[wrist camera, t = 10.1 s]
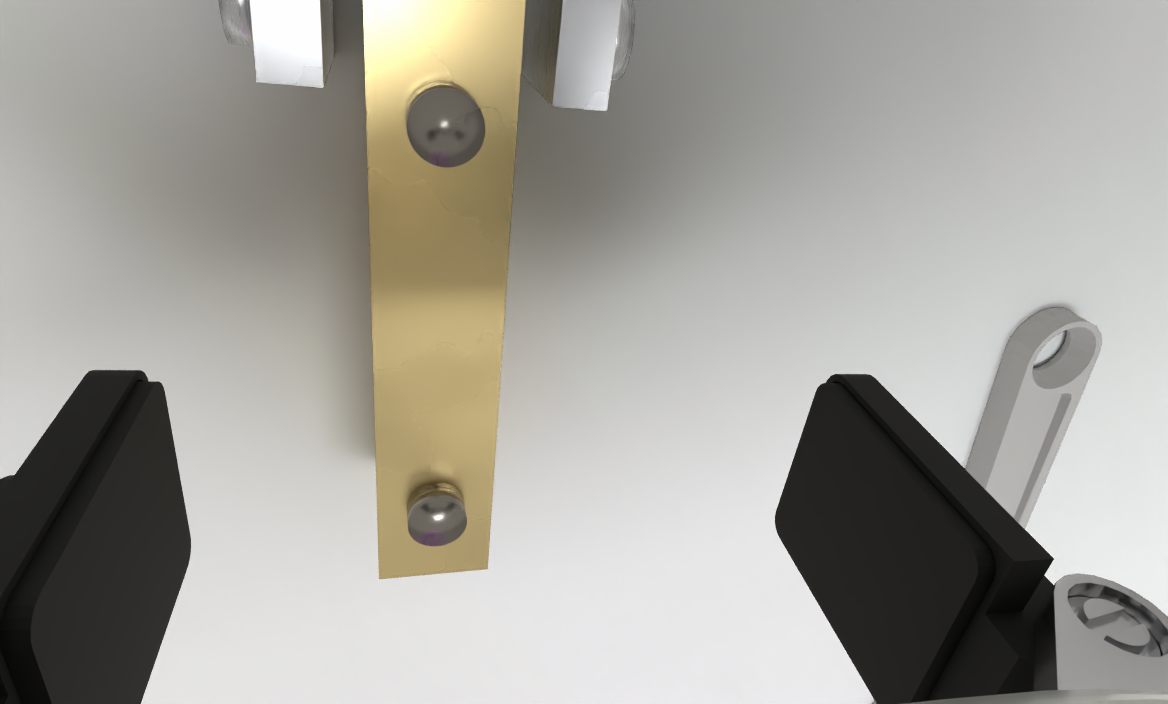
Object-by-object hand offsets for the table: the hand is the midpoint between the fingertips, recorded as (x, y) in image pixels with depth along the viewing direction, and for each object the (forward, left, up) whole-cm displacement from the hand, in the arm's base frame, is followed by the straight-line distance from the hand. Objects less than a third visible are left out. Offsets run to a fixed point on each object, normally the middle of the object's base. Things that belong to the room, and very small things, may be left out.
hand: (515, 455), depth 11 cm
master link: (+1, 0, -8) cm, 8 cm away
